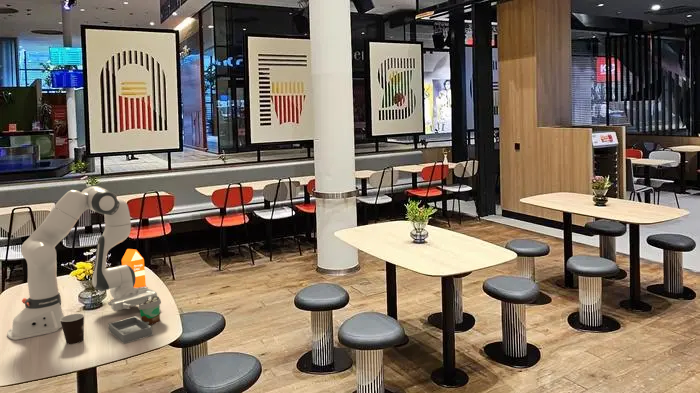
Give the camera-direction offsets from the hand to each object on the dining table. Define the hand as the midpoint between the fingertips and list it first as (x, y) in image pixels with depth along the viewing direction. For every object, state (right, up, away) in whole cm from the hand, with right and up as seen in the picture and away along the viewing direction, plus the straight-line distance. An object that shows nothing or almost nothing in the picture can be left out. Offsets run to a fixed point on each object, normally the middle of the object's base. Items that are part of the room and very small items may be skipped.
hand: (140, 304), depth 250 cm
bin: (+3, -8, -19) cm, 21 cm away
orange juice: (-20, +1, +44) cm, 49 cm away
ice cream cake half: (+9, -7, -7) cm, 13 cm away
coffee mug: (-17, -10, -23) cm, 30 cm away
